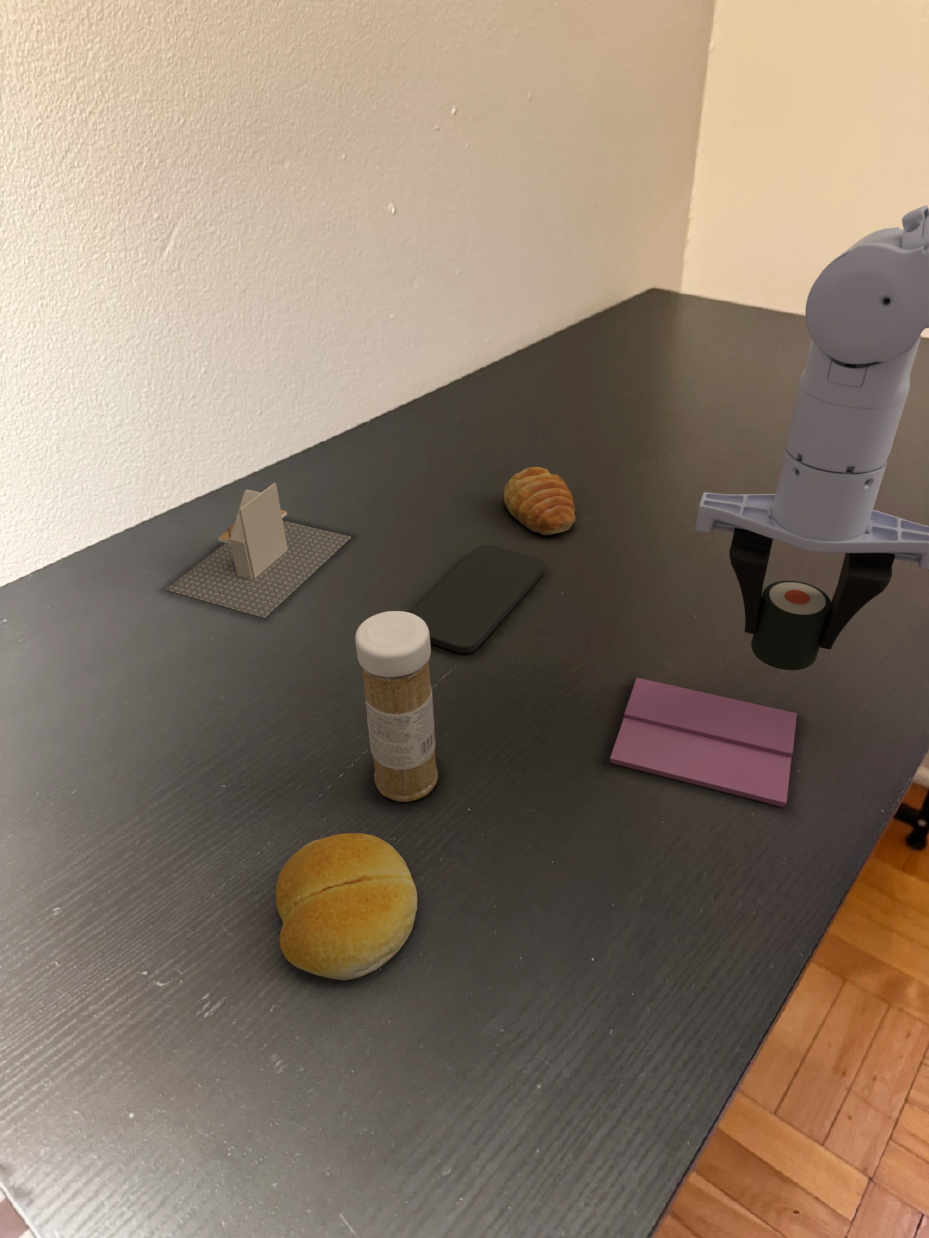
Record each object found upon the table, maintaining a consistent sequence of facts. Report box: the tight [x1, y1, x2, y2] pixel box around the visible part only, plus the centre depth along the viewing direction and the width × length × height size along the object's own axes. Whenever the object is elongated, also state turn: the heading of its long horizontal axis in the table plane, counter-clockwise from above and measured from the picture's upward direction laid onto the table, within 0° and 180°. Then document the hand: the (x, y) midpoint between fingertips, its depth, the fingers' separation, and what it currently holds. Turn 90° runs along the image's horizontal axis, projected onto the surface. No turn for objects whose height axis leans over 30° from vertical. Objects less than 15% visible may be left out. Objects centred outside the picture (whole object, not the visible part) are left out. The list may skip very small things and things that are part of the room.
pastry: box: [503, 466, 576, 536], centre depth 87 cm, size 9×7×4 cm
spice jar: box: [354, 610, 439, 803], centre depth 55 cm, size 5×5×13 cm
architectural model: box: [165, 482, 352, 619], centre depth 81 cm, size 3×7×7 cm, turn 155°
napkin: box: [609, 677, 798, 808], centre depth 61 cm, size 12×9×1 cm
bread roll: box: [275, 832, 418, 981], centre depth 50 cm, size 8×9×4 cm
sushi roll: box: [750, 580, 832, 671], centre depth 58 cm, size 4×4×5 cm
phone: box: [409, 544, 546, 654], centre depth 76 cm, size 7×1×15 cm
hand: (788, 632), depth 58 cm, fingers closed on sushi roll, 4 cm apart
